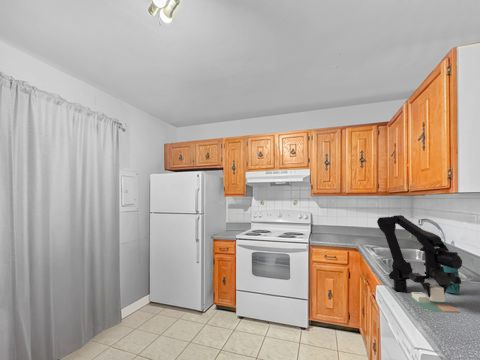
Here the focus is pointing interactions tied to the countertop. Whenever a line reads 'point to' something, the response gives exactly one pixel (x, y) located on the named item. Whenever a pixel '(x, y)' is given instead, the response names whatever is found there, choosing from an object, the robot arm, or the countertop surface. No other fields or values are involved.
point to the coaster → (447, 308)
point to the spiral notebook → (420, 297)
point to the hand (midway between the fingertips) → (435, 297)
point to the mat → (431, 305)
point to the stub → (436, 293)
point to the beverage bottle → (454, 287)
